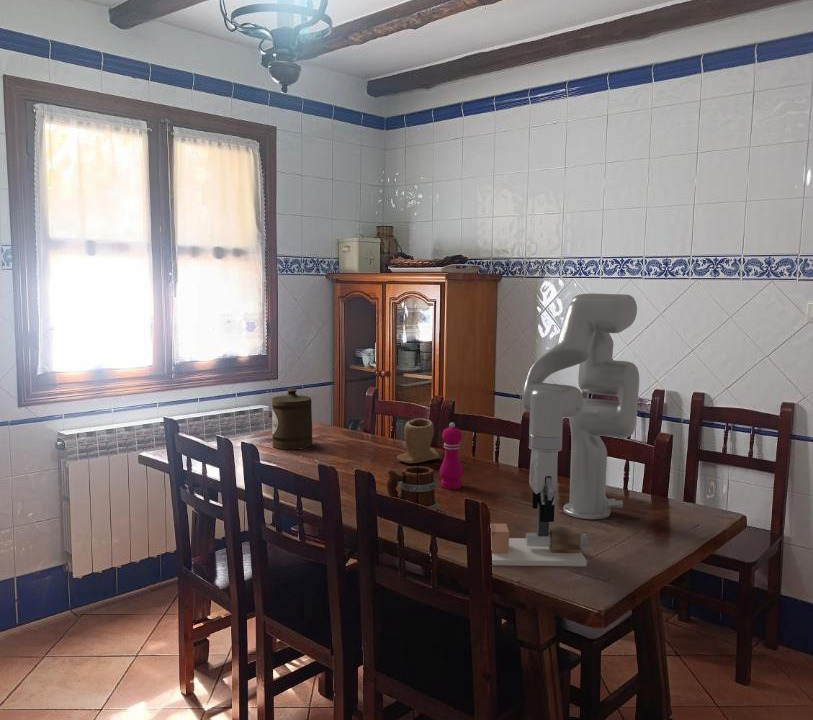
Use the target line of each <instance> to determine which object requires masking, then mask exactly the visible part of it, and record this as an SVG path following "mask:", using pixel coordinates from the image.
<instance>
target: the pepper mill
mask: <svg viewBox="0 0 813 720" xmlns="http://www.w3.org/2000/svg"><path fill="white" fill-rule="evenodd" d="M441 437H442V440H443V441H444V443H443V448H444V451H445V453H444V458H443V461H442V463H441V465H440V468H439V476H440V477H441V480H440V486H441V487H440V488H444V489H447V490H458V489H460V488H461V487H462V480H461V479H462V478H463V475H464V469H463V465H462V463H461V461H460V458H459V449H460V448H461V443H460V442H461V440H462V438H463V434H462V431H461V430H460V429H459V428H457V427H456V424H455V422H450V423H449V425H448V427H447V428H445V429H443V432H442V433H441Z"/></svg>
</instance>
